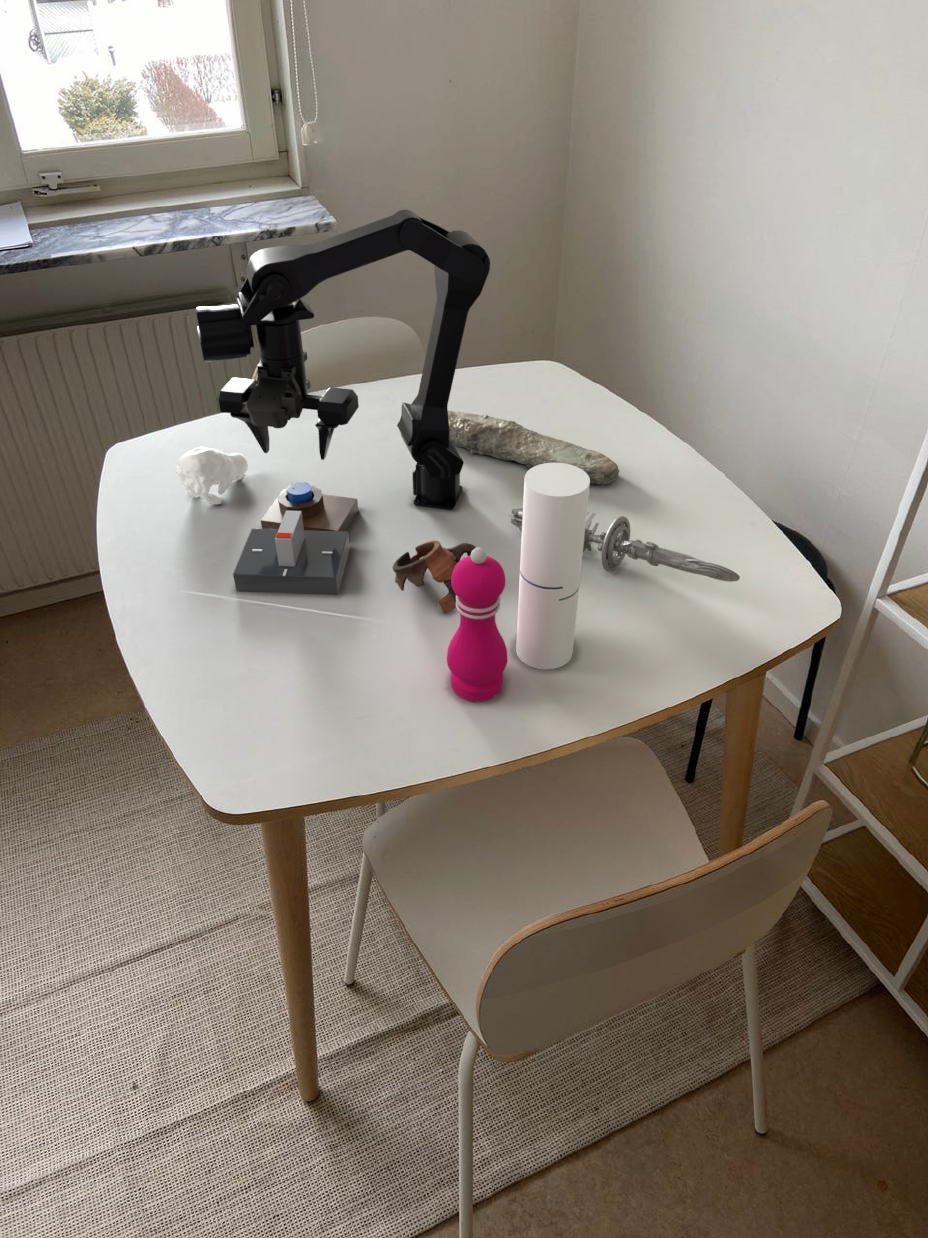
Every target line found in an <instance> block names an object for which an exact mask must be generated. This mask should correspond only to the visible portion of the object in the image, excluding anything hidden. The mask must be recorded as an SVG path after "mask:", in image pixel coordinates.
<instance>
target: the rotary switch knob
mask: <svg viewBox="0 0 928 1238" xmlns="http://www.w3.org/2000/svg"><path fill="white" fill-rule="evenodd" d="M304 539H305V534H304V526H303V519H302V511H287V510H286V512H285V514H284V517H283V520H282V522H281V525H280V527H279V530H278V532H277V535H276V538H275V543H276V549H277V556H278V562H279V566H289V567H295V565H296V562H297V559H298V556H299V553H300V550H301V548H302V545H303V542H304Z"/></svg>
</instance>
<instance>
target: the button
mask: <svg viewBox="0 0 928 1238" xmlns="http://www.w3.org/2000/svg"><path fill="white" fill-rule="evenodd" d="M286 488H287V494H288V500H289V502H291V503H296V504H301V503H307V502H309V501H311V500H312V498H313V496H312V488H311V484H310V483H309V482H304V481H299V482H293V483H291V484H289V485H288V486H287V487H286Z"/></svg>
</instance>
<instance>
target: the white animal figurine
mask: <svg viewBox="0 0 928 1238" xmlns="http://www.w3.org/2000/svg"><path fill="white" fill-rule="evenodd" d="M248 468H249V464H248V460H247V458H246V457H245V456H244V455H242V454H241V453H237V452H234V453H230V454H229V453H225V452H223V451H220V450H219V449H216V448H211V447H206V446H199V447H195V448H193V449H190V450H189V451H187V452H186V453H185V454H183V455H182V456H180V458H179V459H178V463H177V467H176V470H175V473H176V475H177V476H178V478H179V481H180V484H181V485H182V486H183V488H184V490H185V492H186V493H187V494H188V495H190V496H191V497H192V498H196V499H197V498H200V499H202V500H203V501H205V502H206V503H208V504H210V505H216V506H217V505H221V504H222V502H223V501H222V500H221V498H220V497H218V496H217V495H215V494H214V493H210V489H211V487H212V486H214V485H215V486H216V485H218V487H217V492H218V494H219V495H223V494H224V493H225V492H226V490H227V489H228V488H229V487H230V485H231V483H232V482H233V481H234V482H237V481H242V483H244V480H245V478H246V476H247V474H246V473H247V471H248Z"/></svg>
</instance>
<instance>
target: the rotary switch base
mask: <svg viewBox="0 0 928 1238" xmlns="http://www.w3.org/2000/svg"><path fill="white" fill-rule="evenodd" d="M278 530H279V529H262V528H251V530H250V532H249V533H248V537H247V540H246V542H245V544H244V547H243V548H242V551H241V554H240V556H239V558H238V561H237V563H236V565H235V568H234V571H233V573H232V576H233V581H234V587H235V591H236V592H241V593H242V592H243V593H246V592H249V593H271V594H273V593H275V594H299V595H300V594H301V595H307V594H308V595H333V596H338V595H339V592H340V589H341V584H342V580H343V576H344V572H345V570H346V565H347V561H348V557H349V553H350V549H351V547H350V546H351V545H350V536H349V534H350V533H349V531H346V532H344V531H313V530H304V534H305V539H304V542H303V545H302V548H301V550H300V553H299V556H298V559H297V562H296V565H295V567H289V566H279V562H278V556H277V549H276V543H275V538H276V535H277V532H278Z"/></svg>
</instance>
